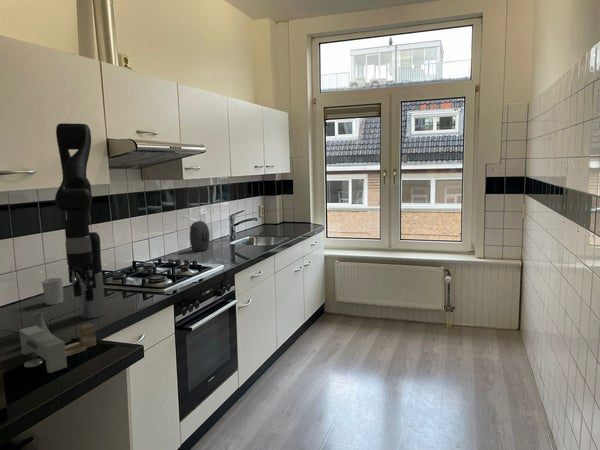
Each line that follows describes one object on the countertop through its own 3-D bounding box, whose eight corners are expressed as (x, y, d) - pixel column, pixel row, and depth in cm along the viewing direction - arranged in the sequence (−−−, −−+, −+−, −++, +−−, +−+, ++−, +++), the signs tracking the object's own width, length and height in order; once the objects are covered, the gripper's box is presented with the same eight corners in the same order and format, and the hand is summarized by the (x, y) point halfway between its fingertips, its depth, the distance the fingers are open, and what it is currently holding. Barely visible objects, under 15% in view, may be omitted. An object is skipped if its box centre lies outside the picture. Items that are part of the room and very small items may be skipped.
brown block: (51, 353, 149) (49, 333, 148) (90, 341, 158) (88, 321, 157) (59, 358, 145) (57, 337, 144) (98, 345, 154) (96, 325, 153)
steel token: (21, 365, 142) (21, 362, 142) (39, 359, 146) (38, 357, 146) (27, 369, 139) (27, 367, 139) (45, 364, 143) (45, 361, 142)
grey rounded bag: (204, 248, 314) (202, 218, 311) (213, 249, 310) (212, 219, 307) (188, 252, 301) (186, 222, 298) (198, 253, 297) (196, 222, 294)
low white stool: (19, 354, 149) (16, 330, 148) (38, 348, 153) (36, 325, 152) (46, 374, 135) (43, 348, 134) (67, 367, 139) (64, 341, 138)
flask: (56, 336, 163) (53, 309, 162) (46, 345, 156) (43, 316, 155) (36, 337, 163) (32, 310, 162) (24, 346, 156) (21, 317, 154)
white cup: (54, 306, 198) (51, 283, 196) (40, 304, 200) (37, 282, 199) (68, 300, 205) (66, 278, 203) (55, 299, 207) (52, 277, 206)
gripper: (100, 250, 148) (105, 299, 151) (80, 246, 157) (85, 292, 160) (77, 254, 143) (82, 305, 145) (57, 249, 152) (62, 297, 154)
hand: (83, 298), depth 152 cm, fingers open, 8 cm apart
